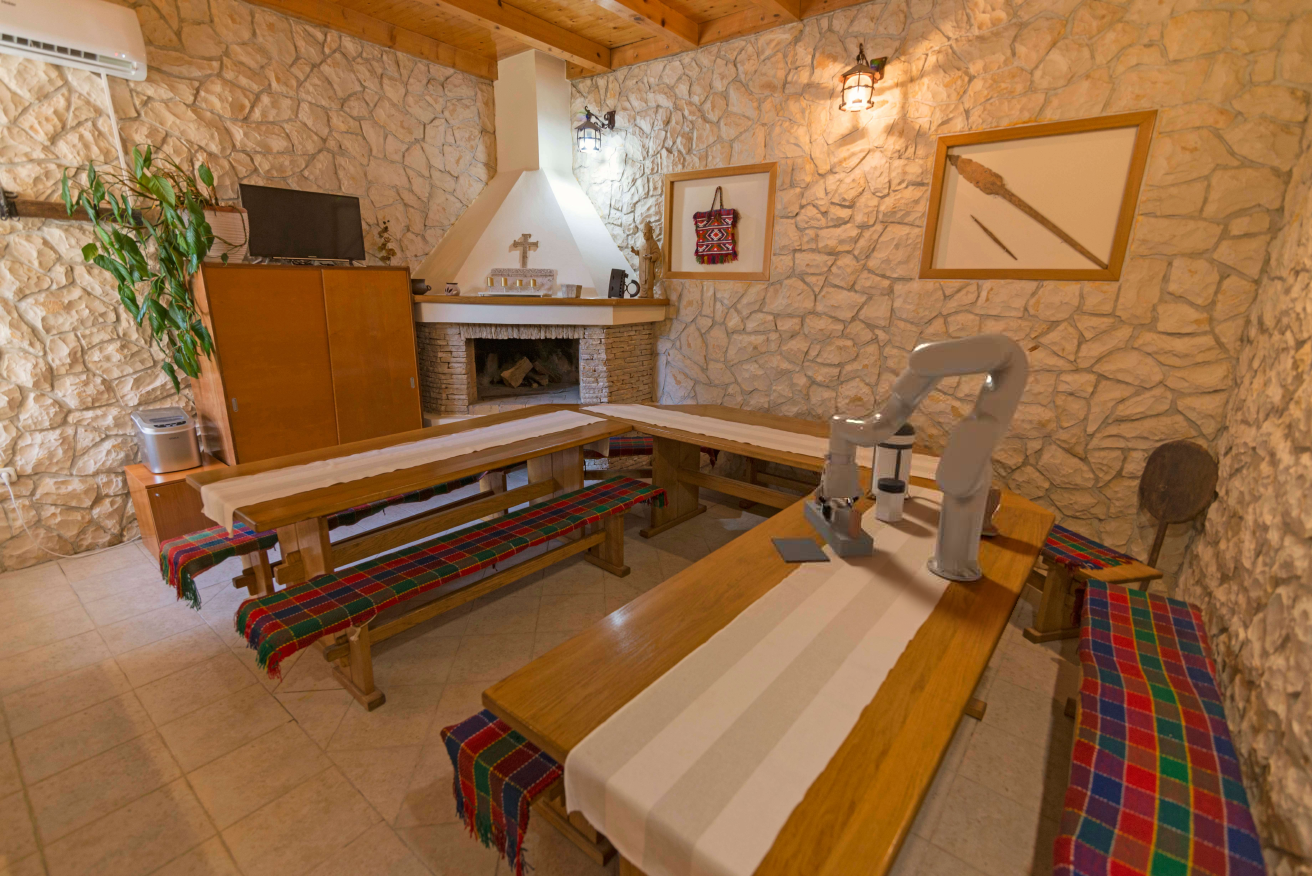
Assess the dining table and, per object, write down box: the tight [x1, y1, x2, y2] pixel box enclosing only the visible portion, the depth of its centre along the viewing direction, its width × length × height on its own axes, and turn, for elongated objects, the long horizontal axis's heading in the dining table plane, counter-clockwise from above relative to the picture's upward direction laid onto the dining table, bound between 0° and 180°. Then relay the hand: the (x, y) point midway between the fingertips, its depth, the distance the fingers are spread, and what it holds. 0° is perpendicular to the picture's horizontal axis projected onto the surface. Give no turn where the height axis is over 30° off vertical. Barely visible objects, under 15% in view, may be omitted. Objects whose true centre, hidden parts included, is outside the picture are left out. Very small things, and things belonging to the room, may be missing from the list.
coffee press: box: [865, 421, 917, 501], centre depth 194 cm, size 17×16×30 cm
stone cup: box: [981, 484, 1002, 537], centre depth 169 cm, size 15×12×15 cm
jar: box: [874, 478, 906, 523], centre depth 179 cm, size 9×8×12 cm
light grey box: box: [821, 498, 854, 525], centre depth 165 cm, size 10×6×5 cm, turn 4°
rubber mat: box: [770, 536, 831, 563], centre depth 156 cm, size 14×12×1 cm
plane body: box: [803, 492, 875, 558], centre depth 165 cm, size 30×9×12 cm, turn 4°
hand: (836, 516), depth 165 cm, fingers closed on light grey box, 5 cm apart
